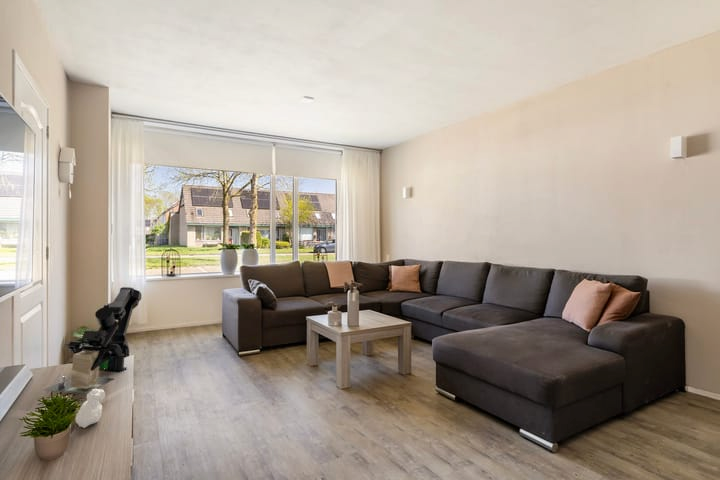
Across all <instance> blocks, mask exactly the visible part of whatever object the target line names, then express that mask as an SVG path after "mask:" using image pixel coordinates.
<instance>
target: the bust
mask: <svg viewBox="0 0 720 480" xmlns="http://www.w3.org/2000/svg"><path fill="white" fill-rule="evenodd" d="M105 397H106V392H105V391H104V389H102V388H96V389H93V390H92V391H89V392H87V393H86V401H84V402H83V403H82V404H81V406H80V408H79V411H78V413H77V414H76V416H75V422H76V424H77V425H78V427H80V428H81V427H82V428H83V429H85V428H87V427H89V426H90V425H93V424H96V423H97V422H98V421H100V418H101V417H102V414H103V405H102V404H101V403H100V401H101V400H103V399H105Z"/></svg>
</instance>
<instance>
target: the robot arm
mask: <svg viewBox="0 0 720 480" xmlns="http://www.w3.org/2000/svg"><path fill="white" fill-rule="evenodd" d="M141 300H142V293H141V291H140V290H137V289H134V287H129V286H127V287H126V286H123V287H120V288H119V292H118V294H117V295H116V297H115V298H114V300H113V301H112V302H110V303H107V304H105V305H103V307H101V308H98V309H97V311H96V312H95V315H94V316H95V318H96V321H97V323H98V326H99V328H98V329H97V330H84V332H83V335H82V337H81V340H86V344H85V343H83V341H81V340H71V341H69V343H68V344H67V346H66V347H67V349H68V350H69V351H70V352H72V354H73V355H74V354H77V353H79V352H82V351H85V350H88V351H99V355H98V357H97V358H96V360H95V362H94V363H93V365H92V367H91V370H92V371H93V370H94V369H96V368H97V367H98V366H100V365H101V364H102V363H104V362H106V361H107V360H108V365H107V369H103V372H109V373H118V374H119V373H121V372H123V371H125V370H127V369H126V368H127V367H125V358H128V357H130V347H129V344H128V341H127V337H126V335H127V333H128V332H127V331H128V327H129V324H130V321H131V317H132V313H133V311H134V309H135V308H137V306H138V305H139V303H140V301H141ZM87 344H88V345H87ZM124 369H125V370H124ZM122 370H123V371H122ZM120 371H121V372H120Z"/></svg>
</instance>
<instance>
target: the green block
mask: <svg viewBox="0 0 720 480" xmlns="http://www.w3.org/2000/svg"><path fill="white" fill-rule="evenodd" d="M107 365H108V360H107V361H106V362H104V363H102V364H101V365H100V366H99V369H100V370H103V369H102V368H105V369H104V370H106V369H107Z"/></svg>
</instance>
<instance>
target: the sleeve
mask: <svg viewBox="0 0 720 480" xmlns="http://www.w3.org/2000/svg"><path fill="white" fill-rule="evenodd" d="M98 355H99V351H88V350H85V351H82V352H79V353H77V354H74V353H73V355H72V368H71V369H72V370H71V378H72V379H71V387H74V388H85V389H87V388H89V387H91V386H93V385H95V384H97V383H98V377H100V376H99V375H100V370H99V366H98V367H97V368H96V369H94V370H93V371H92V370H91V367H92V365H93V363H94V362H95V360H96V358H97V357H98Z"/></svg>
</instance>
